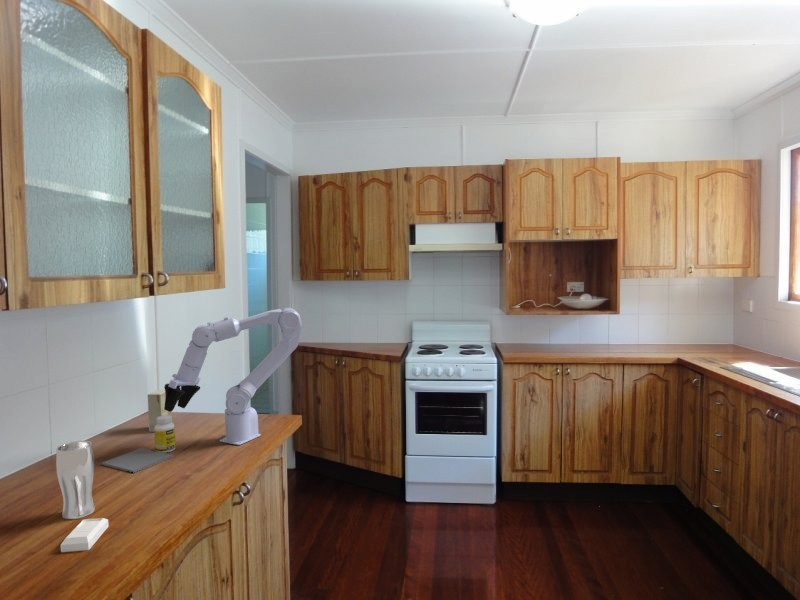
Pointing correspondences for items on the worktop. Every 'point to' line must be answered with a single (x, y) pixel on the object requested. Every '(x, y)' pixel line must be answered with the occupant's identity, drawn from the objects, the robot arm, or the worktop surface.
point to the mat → (137, 460)
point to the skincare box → (156, 407)
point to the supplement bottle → (164, 434)
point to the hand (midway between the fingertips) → (174, 408)
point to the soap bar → (84, 535)
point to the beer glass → (76, 478)
